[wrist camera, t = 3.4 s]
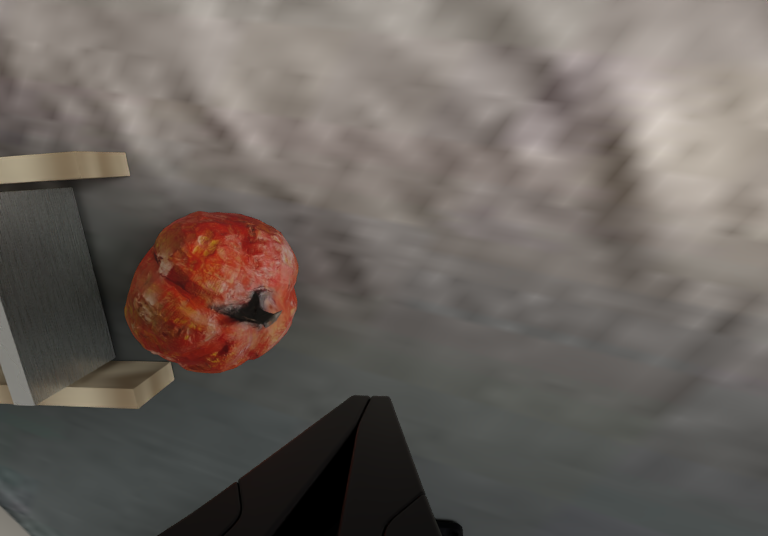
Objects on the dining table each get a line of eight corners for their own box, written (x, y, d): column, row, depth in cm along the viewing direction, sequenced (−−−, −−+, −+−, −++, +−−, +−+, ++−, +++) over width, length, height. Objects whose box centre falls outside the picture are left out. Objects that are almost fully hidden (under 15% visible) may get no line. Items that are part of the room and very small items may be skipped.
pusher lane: (125, 152, 21) (74, 151, 18) (174, 379, 24) (138, 408, 21) (-104, 170, 23) (-180, 171, 21) (-30, 374, 27) (-87, 400, 24)
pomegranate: (229, 316, 25) (318, 405, 19) (88, 320, 20) (147, 446, 13) (256, 203, 24) (363, 256, 17) (113, 175, 19) (191, 236, 12)
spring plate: (72, 187, 22) (-34, 194, 17) (115, 357, 24) (34, 405, 19) (53, 188, 22) (-57, 196, 17) (98, 357, 24) (14, 404, 20)
